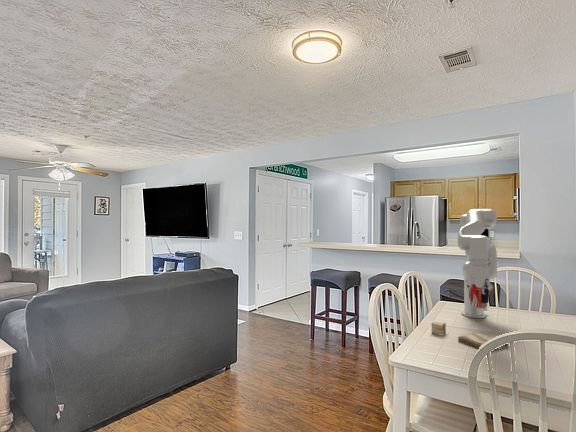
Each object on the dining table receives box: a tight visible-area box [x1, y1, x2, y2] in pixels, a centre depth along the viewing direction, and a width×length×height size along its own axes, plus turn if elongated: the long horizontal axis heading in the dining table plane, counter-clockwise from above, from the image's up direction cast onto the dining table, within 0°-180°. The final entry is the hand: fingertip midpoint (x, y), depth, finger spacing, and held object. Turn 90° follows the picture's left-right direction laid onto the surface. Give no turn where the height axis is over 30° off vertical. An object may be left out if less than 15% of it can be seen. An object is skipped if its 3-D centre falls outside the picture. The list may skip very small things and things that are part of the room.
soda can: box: [470, 282, 488, 309], centre depth 158 cm, size 7×7×12 cm
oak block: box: [431, 320, 447, 336], centre depth 168 cm, size 5×5×5 cm
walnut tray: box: [457, 332, 509, 351], centre depth 153 cm, size 14×14×2 cm
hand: (478, 300), depth 157 cm, fingers closed on soda can, 7 cm apart
